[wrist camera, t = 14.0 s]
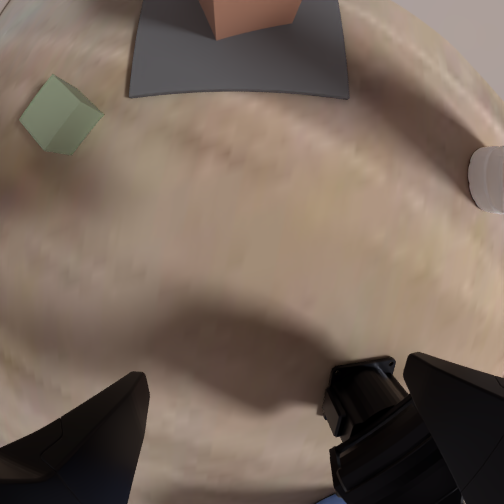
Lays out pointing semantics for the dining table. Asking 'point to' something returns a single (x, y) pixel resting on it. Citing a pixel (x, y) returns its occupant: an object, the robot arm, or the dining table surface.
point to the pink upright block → (247, 15)
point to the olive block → (60, 117)
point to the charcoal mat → (238, 53)
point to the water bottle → (487, 178)
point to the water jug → (332, 500)
